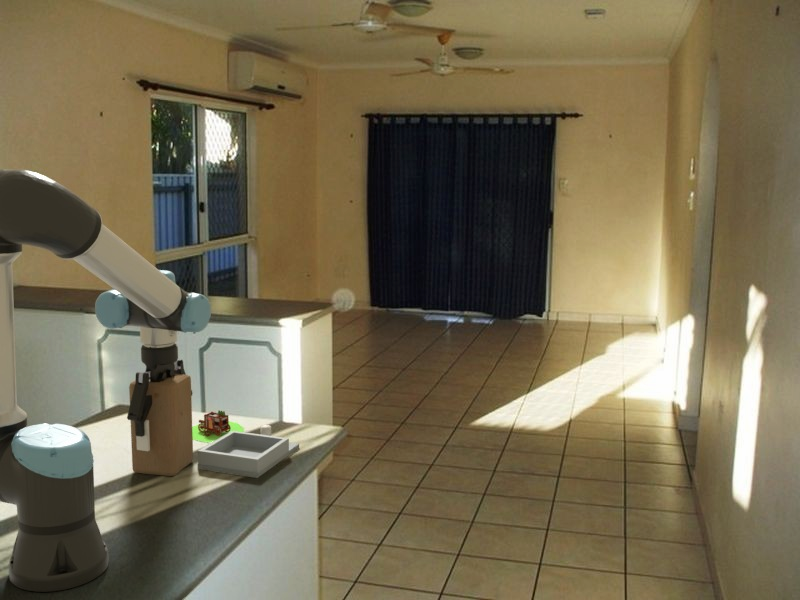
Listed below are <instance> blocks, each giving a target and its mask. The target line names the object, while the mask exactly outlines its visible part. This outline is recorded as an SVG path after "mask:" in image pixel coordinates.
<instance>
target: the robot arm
mask: <svg viewBox="0 0 800 600" xmlns="http://www.w3.org/2000/svg"><path fill="white" fill-rule="evenodd" d="M23 245H25V246H31V247H35V248H40V249H44V250H46V251H49V252H51V253H52V254H53V255H55V256H56V257H58V258H59V259H62V260H73V261H74V262H76V263H77V264H78V265H80V266H82V267H83V268H84V269H85V270H87V271H89V272H90V273H91V274H92V275H94V276H95V277H97V278H98V279H99V280H101V281H103V282H104V283H106V285H108V286H109V287H111V288H112V289H109V290H106V291H104V292H102V293H100V294H99V296H98V297H97V299H96V300H95V303H94V304H95V305H94V311H95V312H94V314H95V316H96V318H97V320H98V322H99V323H100V324H101V325H102V326H103V327H105V328H107V329H111V330H112V329H123V328H124V327H138V328H139V338H140V341H139V342H140V343H141V344H142V345H141V346H140V357H141V362H142V363H143V365H145V372H144V371H143V372H141V371H140V372H139V371H137V372H136V373H135V380H136V381H135V380H134V381H135V387H134V391H133V395H132V399H131V403H130V402H129V407H128V412H127V415H126V419H127V420H128V421H131V420H134V421H135V434H136V441H137V450H142V451H149V450H150V436H149V420H146V418H147V416H148V413H149V410H150V408H151V405H152V395H146V394H147V390H148V386H149V382H150V381H151V382H161V381H164V380H165V378H168V377H173V376H175V374H183V375H187V374H186V370H185V368H184V361H183V359H181V358H180V359H179V347H178V346H179V345H178V344H177V343H176V342H177V341H178V332H182V333H201V332H202V331H204V330H205V329H206V328H207V326H208V325H209V322H210V319H211V316H212V307H211V303H210V300H209V298H208V297H207V296H205V295H203V294H201V293H196V292H187V291H185V290H184V289H183V288H182V287H180V286H179V285H178V284H177V283H176V276H175V273H174V272H172V271H170V270H166V269H165V270H164V269H162V270H161V269H158V268H157V267H155V265H153V264H152V263H150V262H149V261H148V260H147V259H146V258H145V257H143V255H141V254H140V253H139V252H137V251H136V250H135V249H134V248H133V247H132V246H130V245H129V244H127V243H126V242H125V241H124V240H123V239H122V238H120V236H118V235H117V234H115V233H114V232H113V231H112V230H110V229H109V228H108V227H107V226H106V225H104V224H103V219H102V216H101V214H100V213H99V211H97V210H96V209H95V207H92V206H91V205H90V204H89V203H88V202H87V201H85V200H84V199H82V197H80V196H79V195H77V194H76V193H75V192H73V191H71V190H70V189H69V188H67V187H66V186H64V185H63V184H60V183H59V182H57V181H55V180H54V179H53V178H52V179H51V178H50V177H48V176H46V175H43V174H41V173H38V172H34V171H33V170H32V171H31V170H28V169H17V168H16V169H6V168H5V169H3V168H1V169H0V503H7V504H11V505H15V506H16V514H17V528H18V531H17V534H16V538H15V541H14V544H13V545H14V546H13V549H12V553H11V557H10V560H9V563H8V574H9V575H8V576H9V581H10V583H11V584H12V585H13V586H15V587H16V588H19V589H21V590H24V591H28V592H38V593H39V592H40V593H41V592H42V593H44V592H45V593H46V592H48V593H49V592H57V591H58V592H59V591H64V590H68V589H72V588H75V587H79V586H82V585H84V584H88V583H90V582H92V581H93V580H95V579H98V577H99V576H101V575H102V574H103V573H104V572H105V571H106V570H107V568H108V566H109V550H108V546H107V544H106V542H105V541H104V540H103V537H102V533H101V531H100V528H99V526H98V523H97V521H96V514H95V513H96V511H95V508H96V506H95V503H96V502H95V480H94V479H95V478H94V477H95V475H94V474H95V473H94V461H95V460H94V455H93V452H92V443H91V441H90V437H89V436H88V435H87V434H86V432H84V431H83V430H81V429H80V428H77V427H75V426H73V425H68V424H65V423H54V424H49V423H38V424H33V425H29V426H28V413H27V412H26V411H25V410H24V409H22V408H21V407H20V406H19V405H18V402H17V397H18V396H17V371H16V367H17V366H16V342H15V341H16V339H15V336H16V334H15V307H14V273H13V269H14V268H13V263H14V262H15V261H16V260H17V259H18V258H19V257H20V256H21V255H22V254H23ZM192 396H193V390H192V389H191V397H192Z"/></svg>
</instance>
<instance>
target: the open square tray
mask: <svg viewBox="0 0 800 600" xmlns="http://www.w3.org/2000/svg"><path fill="white" fill-rule="evenodd" d="M289 439H290V438H289V437H280V436H274V435H272V426H271V425H269V424H264V425H260V434H259V433H253V432H245V431H244V432H239V431H231V432H229V433H227V434H226V435H224V436H222V437H221V438H219V439H217V440H215V441H214V442H212V443H208V444H207V445H206V446H204V447H202V448H200V449H198V450H197V462H198V463H197V469H198V470H202V471H209V472H217V473H223V474H229V475H233V476H234V475H236V476H242V477H247V478H248V477H249V478H254V479H255V478H256V479H258V478H259V477H261V476H262V475H263V474H265V473H266V472H268V471H269V470H270V469H272V468H274V467H275V466H277V464H279V463H280V462H282V461H283V460H285V458H287V457H289V456H290V455H291V454H293V453H294V452H295V451H297V450H298V449H300V443H296V442H290V440H289Z"/></svg>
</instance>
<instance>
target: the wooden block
mask: <svg viewBox="0 0 800 600" xmlns="http://www.w3.org/2000/svg"><path fill="white" fill-rule="evenodd" d="M191 378H192V377H191V376H190V375H189V374H186V375H183V374H175V376H173V377H168V378H165V380H164V381H161V382H151V381H150V382H149V386H148V390H147V394H146V395H152V405H151V408H150V410H149V413H148V416H147V418H146V420H149V436H150V450H149V451H142V450H137V441H136V434H135V421H134V420H130V435H131V436H130V437H131V438H130V439H131V461H132V462H131V463H132V467H131V468H132V470H133V473H137V474H147V475H158V476H168V477H169V476H170V477H174V476H175V475H177V474H179V473H180V472H182V470H184V469H185V468H186V467H187V466H188V465H190V464H191V463H192V462H193V460H194V447H193V446H194V444H193V443H194V442H193V441H194V440H193V436H192V427H193V405H192V396H191V390H192V379H191ZM135 381H136V379H135V380H134V381H132V382H130V383H129V386H128V390H129V391H128V392H129V404H130V403H131V399H132V395H133V391H134V387H135Z"/></svg>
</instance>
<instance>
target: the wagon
mask: <svg viewBox="0 0 800 600" xmlns="http://www.w3.org/2000/svg"><path fill="white" fill-rule="evenodd" d="M217 411H218V412H215V411H210V412H208V413H207V414H206V413H205V414H203V420H202V419H198V423H199V424H196V425H194V426H193V425H192V436H193V441H197V442H202V443H205V442H206V444H208V443H207V442H212V441H213V442H214V441H215V440H217V439H219V438H221V437H222V436H224V435H226V434H227V433H229V432H231V431H239V432H245V428H244V427H243V426H242V425H241V424H240V423H238V422H234V421H229V414H226V412H225V410H217Z"/></svg>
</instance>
